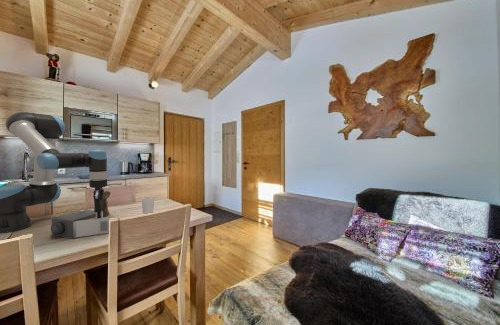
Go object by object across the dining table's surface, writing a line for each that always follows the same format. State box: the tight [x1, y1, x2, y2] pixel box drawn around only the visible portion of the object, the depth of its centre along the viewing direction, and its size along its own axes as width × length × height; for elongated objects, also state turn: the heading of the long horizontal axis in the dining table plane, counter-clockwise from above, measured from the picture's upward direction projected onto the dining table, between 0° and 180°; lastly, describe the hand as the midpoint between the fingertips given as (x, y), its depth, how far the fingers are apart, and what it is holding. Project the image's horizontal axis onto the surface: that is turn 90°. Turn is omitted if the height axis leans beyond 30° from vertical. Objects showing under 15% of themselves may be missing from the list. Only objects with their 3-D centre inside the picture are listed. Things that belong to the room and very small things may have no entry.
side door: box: [72, 216, 110, 239], centre depth 105 cm, size 2×15×8 cm, turn 121°
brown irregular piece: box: [93, 190, 111, 218], centre depth 135 cm, size 9×14×18 cm, turn 57°
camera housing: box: [50, 208, 96, 239], centre depth 110 cm, size 14×19×10 cm
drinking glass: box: [141, 195, 155, 215], centre depth 128 cm, size 7×7×15 cm
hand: (99, 223), depth 108 cm, fingers closed
